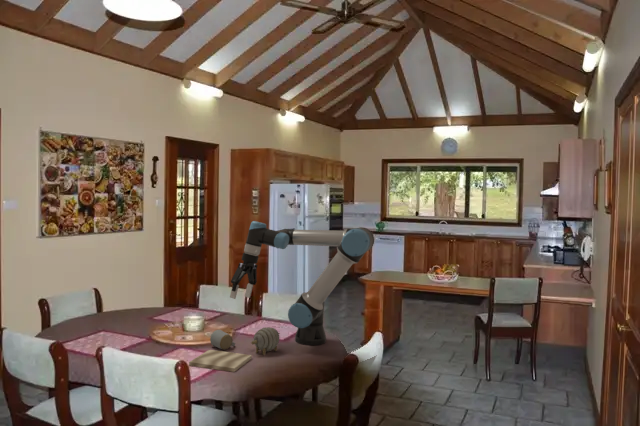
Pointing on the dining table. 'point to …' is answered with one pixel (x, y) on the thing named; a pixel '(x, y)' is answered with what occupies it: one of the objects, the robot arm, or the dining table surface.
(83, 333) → the dining table surface
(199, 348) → the dining table surface
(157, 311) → the dining table surface
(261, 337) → the toy sheep
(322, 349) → the dining table surface
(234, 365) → the birch board
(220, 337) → the ceramic mug
